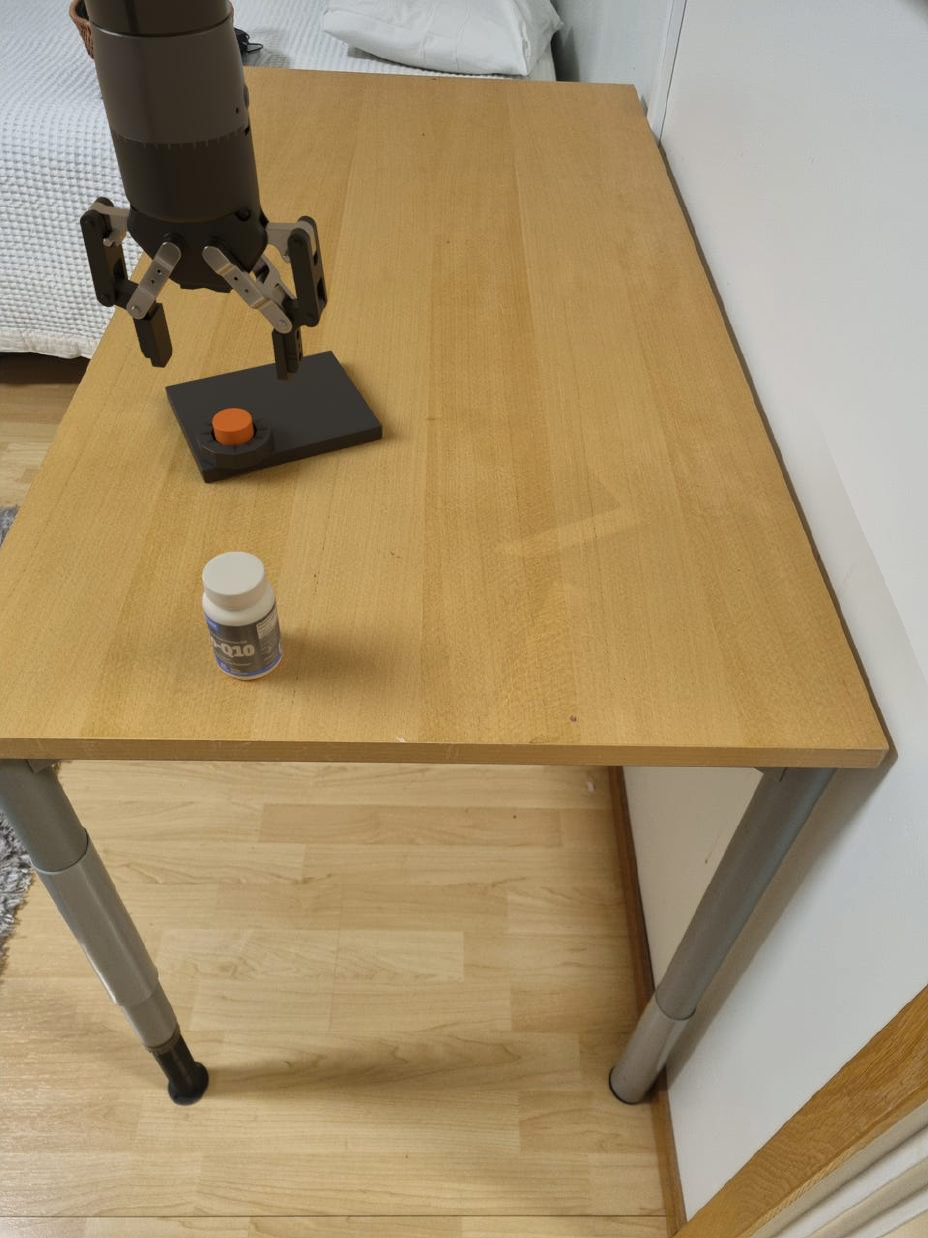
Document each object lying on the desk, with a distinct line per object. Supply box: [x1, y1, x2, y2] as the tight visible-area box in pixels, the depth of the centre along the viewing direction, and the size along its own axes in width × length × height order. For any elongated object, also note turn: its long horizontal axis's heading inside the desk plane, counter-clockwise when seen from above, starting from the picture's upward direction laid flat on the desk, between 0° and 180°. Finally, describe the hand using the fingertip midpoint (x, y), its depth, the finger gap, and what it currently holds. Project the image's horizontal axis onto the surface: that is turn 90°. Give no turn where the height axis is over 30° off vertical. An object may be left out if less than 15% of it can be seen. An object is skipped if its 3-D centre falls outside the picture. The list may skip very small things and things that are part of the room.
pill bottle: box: [201, 551, 284, 681], centre depth 63 cm, size 5×5×8 cm
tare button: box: [212, 408, 254, 446], centre depth 78 cm, size 3×3×2 cm
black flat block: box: [164, 350, 383, 484], centre depth 83 cm, size 16×14×3 cm
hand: (225, 367), depth 63 cm, fingers open, 8 cm apart
